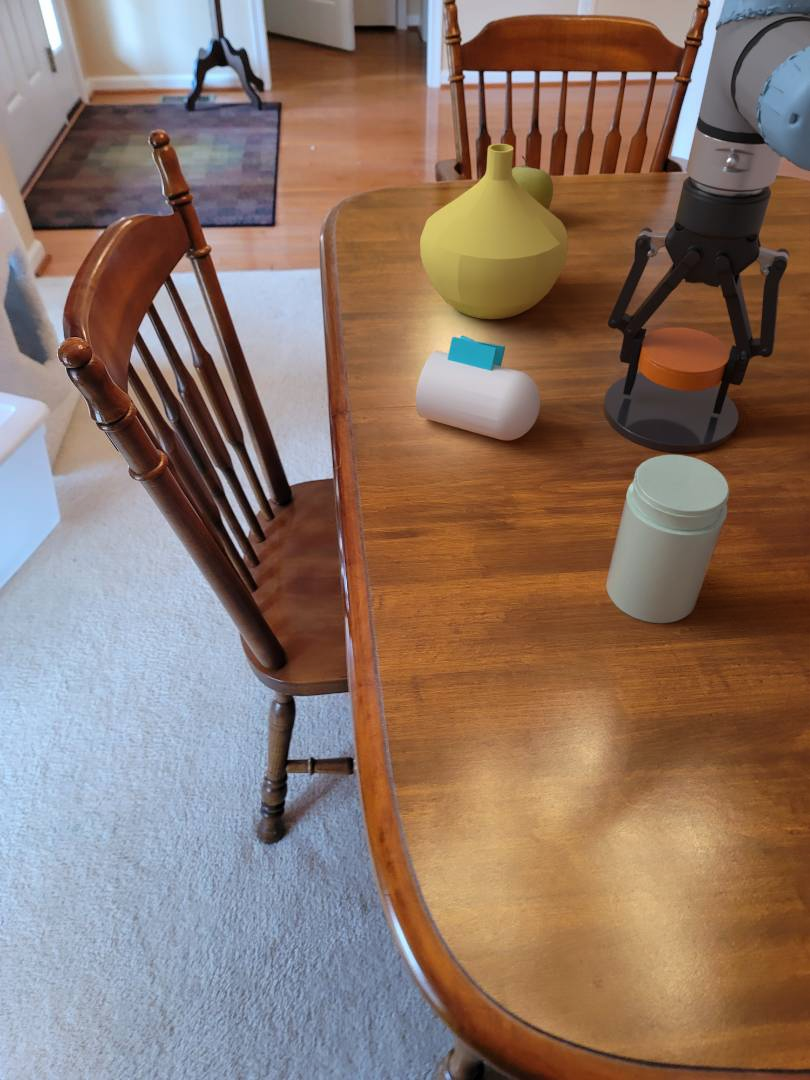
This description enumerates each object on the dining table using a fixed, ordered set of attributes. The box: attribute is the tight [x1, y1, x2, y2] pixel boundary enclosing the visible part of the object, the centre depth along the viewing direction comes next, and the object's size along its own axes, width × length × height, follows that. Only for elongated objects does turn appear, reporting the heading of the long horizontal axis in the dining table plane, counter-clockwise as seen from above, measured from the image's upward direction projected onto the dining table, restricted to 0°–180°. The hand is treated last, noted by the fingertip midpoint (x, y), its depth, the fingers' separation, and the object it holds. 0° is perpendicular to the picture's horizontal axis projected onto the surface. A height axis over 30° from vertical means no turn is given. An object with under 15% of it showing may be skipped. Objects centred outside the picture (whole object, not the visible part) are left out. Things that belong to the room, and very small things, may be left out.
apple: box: [512, 155, 554, 211], centre depth 124 cm, size 8×8×10 cm
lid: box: [638, 326, 730, 391], centre depth 86 cm, size 9×9×2 cm
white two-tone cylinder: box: [415, 334, 541, 441], centre depth 88 cm, size 12×9×12 cm
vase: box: [419, 143, 569, 320], centre depth 102 cm, size 18×18×19 cm
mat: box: [603, 372, 739, 454], centre depth 90 cm, size 14×14×1 cm
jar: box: [605, 454, 730, 624], centre depth 67 cm, size 8×8×12 cm
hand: (672, 397), depth 89 cm, fingers closed on lid, 9 cm apart
